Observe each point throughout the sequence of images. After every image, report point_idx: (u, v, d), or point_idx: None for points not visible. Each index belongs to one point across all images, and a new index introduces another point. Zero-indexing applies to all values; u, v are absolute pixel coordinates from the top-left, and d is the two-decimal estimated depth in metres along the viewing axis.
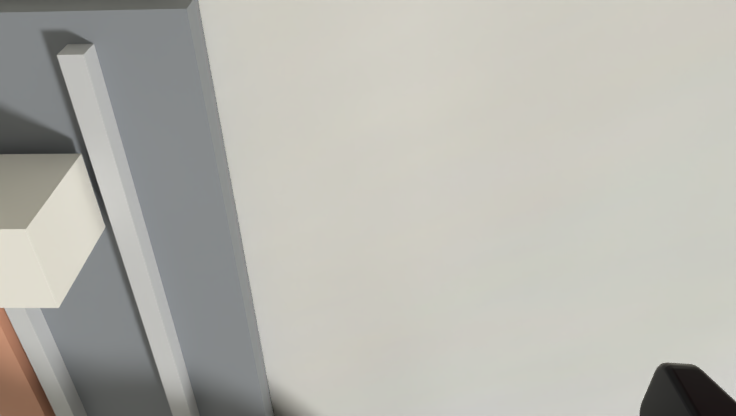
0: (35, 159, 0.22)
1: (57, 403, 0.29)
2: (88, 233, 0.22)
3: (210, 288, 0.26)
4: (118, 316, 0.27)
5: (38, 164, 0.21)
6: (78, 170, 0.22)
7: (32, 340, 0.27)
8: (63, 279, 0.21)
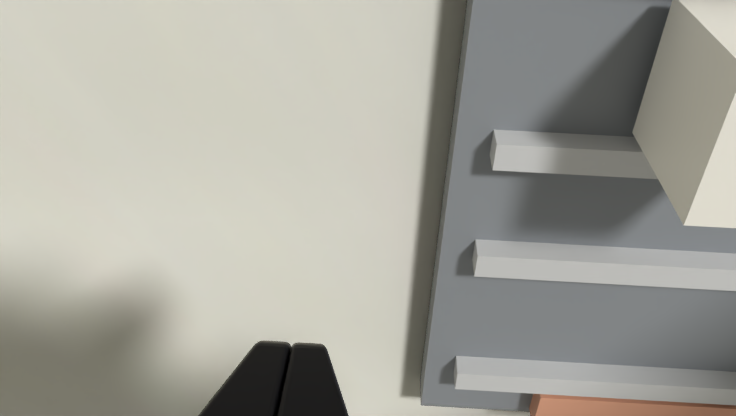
0: (661, 57, 0.16)
1: None
2: None
3: None
4: None
5: (668, 52, 0.16)
6: (696, 3, 0.15)
7: None
8: None
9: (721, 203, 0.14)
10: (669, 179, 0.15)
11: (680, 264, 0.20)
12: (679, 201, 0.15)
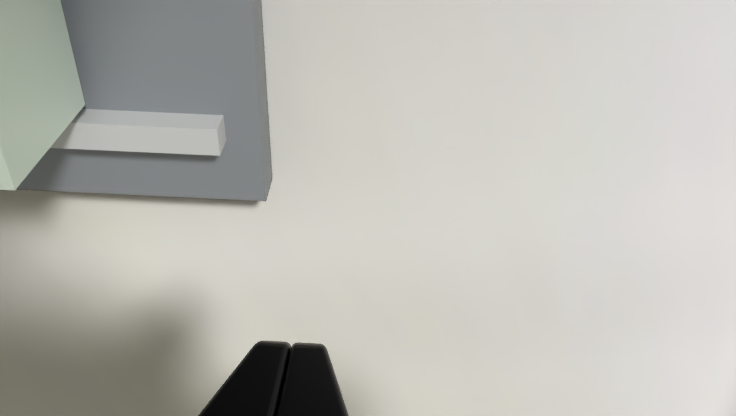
0: None
1: None
2: None
3: None
4: None
5: None
6: None
7: None
8: None
9: None
10: None
11: None
12: None
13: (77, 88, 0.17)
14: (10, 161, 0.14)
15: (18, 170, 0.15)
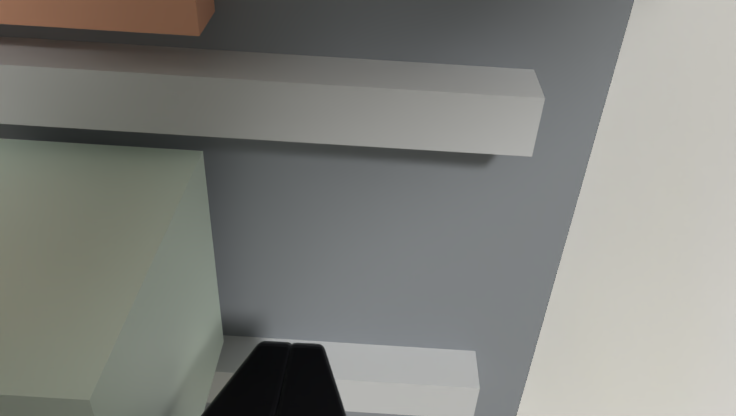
0: None
1: None
2: None
3: None
4: None
5: None
6: None
7: None
8: None
9: None
10: None
11: None
12: None
13: (217, 325, 0.10)
14: None
15: None
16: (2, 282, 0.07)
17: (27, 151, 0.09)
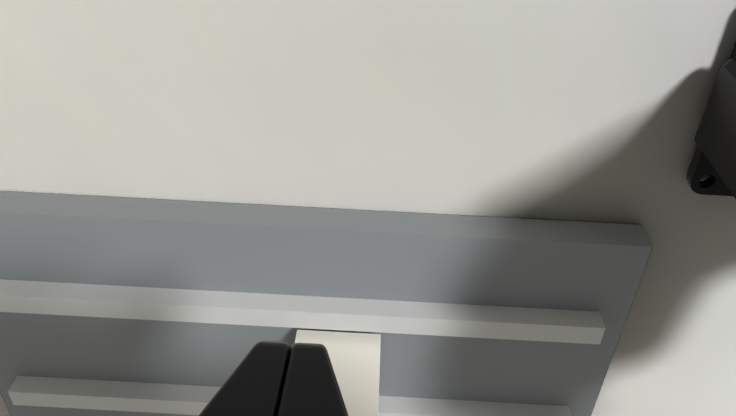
0: None
1: None
2: (362, 357, 0.23)
3: (252, 253, 0.23)
4: None
5: None
6: (305, 340, 0.24)
7: None
8: (363, 408, 0.21)
9: None
10: None
11: None
12: None
13: None
14: None
15: None
16: None
17: None
